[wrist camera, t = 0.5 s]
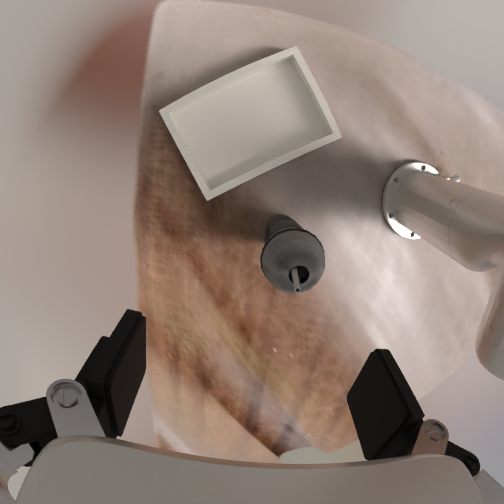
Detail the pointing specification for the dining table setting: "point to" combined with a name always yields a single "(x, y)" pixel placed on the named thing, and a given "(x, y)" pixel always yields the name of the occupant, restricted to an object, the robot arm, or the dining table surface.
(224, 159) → the tray
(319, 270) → the beverage cup
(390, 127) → the dining table surface
